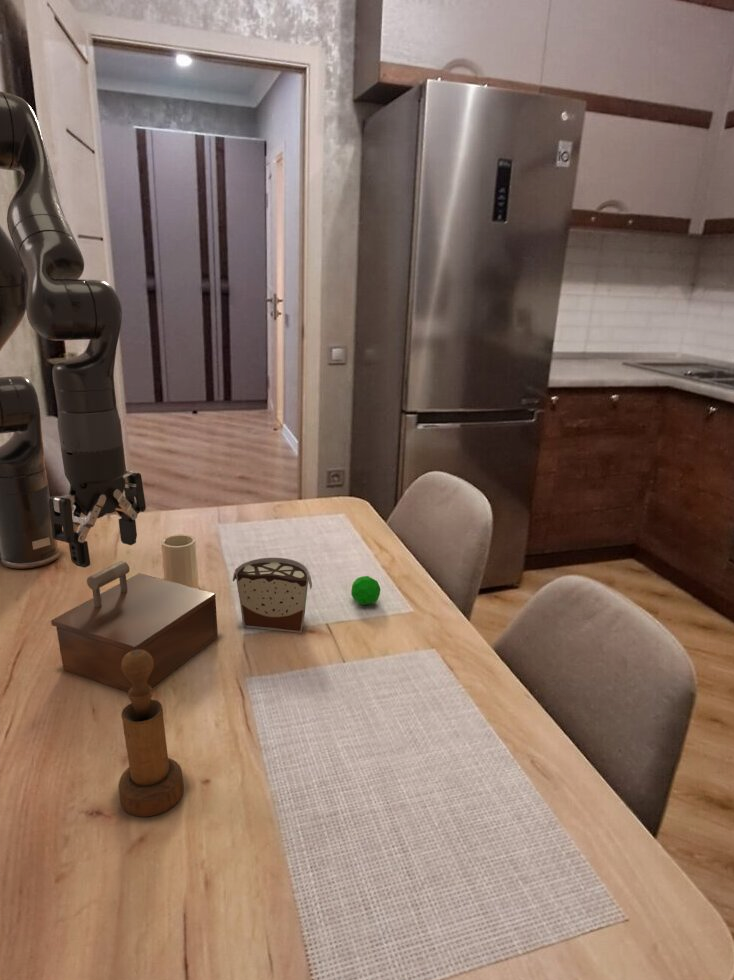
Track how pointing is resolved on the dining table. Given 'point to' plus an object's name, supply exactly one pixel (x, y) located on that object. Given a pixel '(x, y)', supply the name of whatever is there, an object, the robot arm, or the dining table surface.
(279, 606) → the food container
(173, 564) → the ceramic cup
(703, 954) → the dining table surface
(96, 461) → the robot arm
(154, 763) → the mortar and pestle
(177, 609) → the box lid
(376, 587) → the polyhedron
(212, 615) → the walnut box
